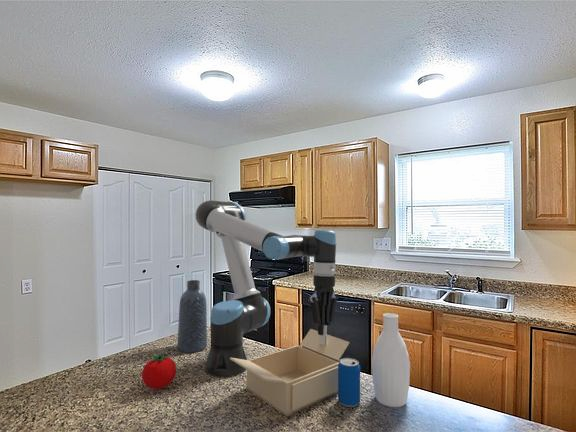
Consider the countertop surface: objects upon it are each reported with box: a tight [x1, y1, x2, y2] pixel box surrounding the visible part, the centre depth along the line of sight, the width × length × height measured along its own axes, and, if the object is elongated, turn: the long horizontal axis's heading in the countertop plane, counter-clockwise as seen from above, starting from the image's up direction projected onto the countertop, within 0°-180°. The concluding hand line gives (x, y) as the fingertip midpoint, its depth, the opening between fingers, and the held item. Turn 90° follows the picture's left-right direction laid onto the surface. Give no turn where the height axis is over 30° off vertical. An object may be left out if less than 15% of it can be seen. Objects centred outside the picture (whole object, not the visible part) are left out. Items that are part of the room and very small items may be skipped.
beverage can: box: [337, 357, 361, 408], centre depth 100 cm, size 6×6×12 cm
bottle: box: [371, 312, 411, 408], centre depth 102 cm, size 11×11×25 cm
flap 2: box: [299, 328, 350, 362], centre depth 116 cm, size 18×1×7 cm
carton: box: [246, 344, 340, 418], centre depth 107 cm, size 22×22×9 cm
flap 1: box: [230, 357, 284, 383], centre depth 97 cm, size 18×1×7 cm
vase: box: [176, 279, 208, 353], centre depth 143 cm, size 12×12×28 cm
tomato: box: [141, 353, 177, 390], centre depth 108 cm, size 10×10×10 cm
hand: (322, 344), depth 115 cm, fingers closed
